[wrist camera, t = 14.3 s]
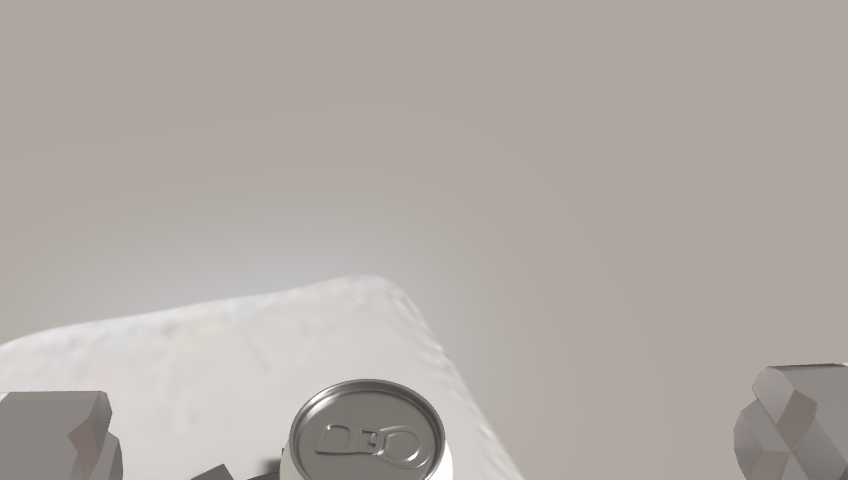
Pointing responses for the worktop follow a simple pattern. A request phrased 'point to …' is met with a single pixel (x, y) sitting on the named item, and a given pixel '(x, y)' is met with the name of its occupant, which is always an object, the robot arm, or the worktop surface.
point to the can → (366, 436)
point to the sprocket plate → (220, 476)
